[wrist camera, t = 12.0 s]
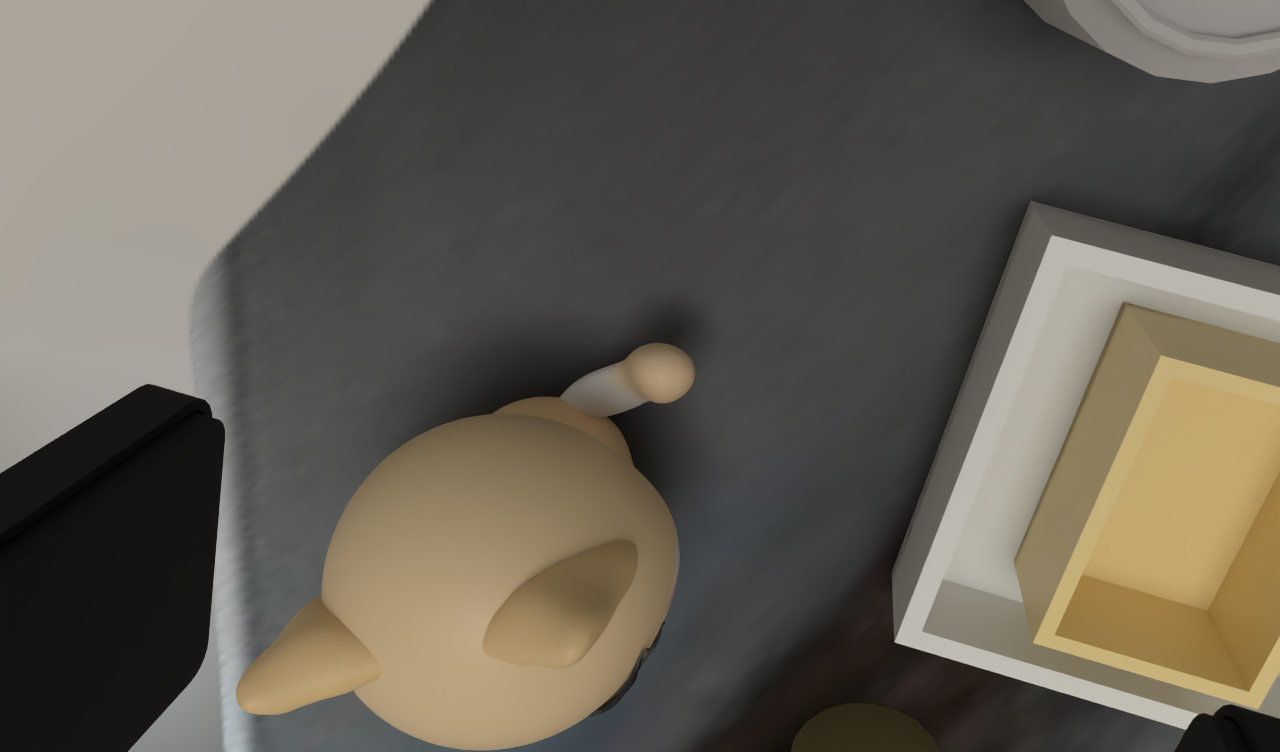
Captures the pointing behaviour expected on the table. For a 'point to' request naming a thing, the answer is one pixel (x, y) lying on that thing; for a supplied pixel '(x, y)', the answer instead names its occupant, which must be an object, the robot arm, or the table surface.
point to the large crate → (1051, 442)
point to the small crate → (1166, 512)
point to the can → (1176, 34)
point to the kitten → (493, 572)
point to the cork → (863, 731)
